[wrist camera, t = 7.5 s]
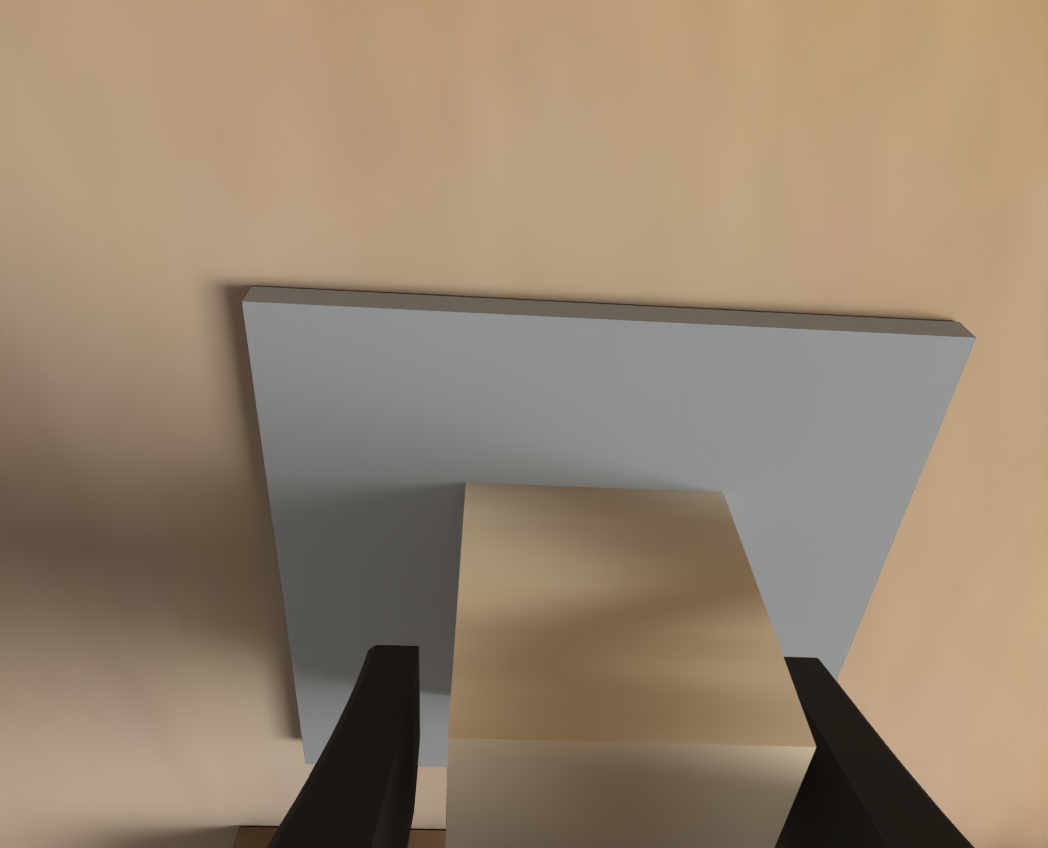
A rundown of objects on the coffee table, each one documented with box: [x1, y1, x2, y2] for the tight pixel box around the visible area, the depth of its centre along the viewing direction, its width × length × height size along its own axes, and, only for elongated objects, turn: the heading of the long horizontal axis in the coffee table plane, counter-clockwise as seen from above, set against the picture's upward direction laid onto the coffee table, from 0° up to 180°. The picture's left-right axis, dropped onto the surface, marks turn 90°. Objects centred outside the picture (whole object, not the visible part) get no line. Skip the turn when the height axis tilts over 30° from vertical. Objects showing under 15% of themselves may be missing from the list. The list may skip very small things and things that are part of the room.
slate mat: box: [242, 286, 976, 767], centre depth 14 cm, size 10×10×1 cm
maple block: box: [446, 482, 816, 848], centre depth 12 cm, size 4×5×4 cm
